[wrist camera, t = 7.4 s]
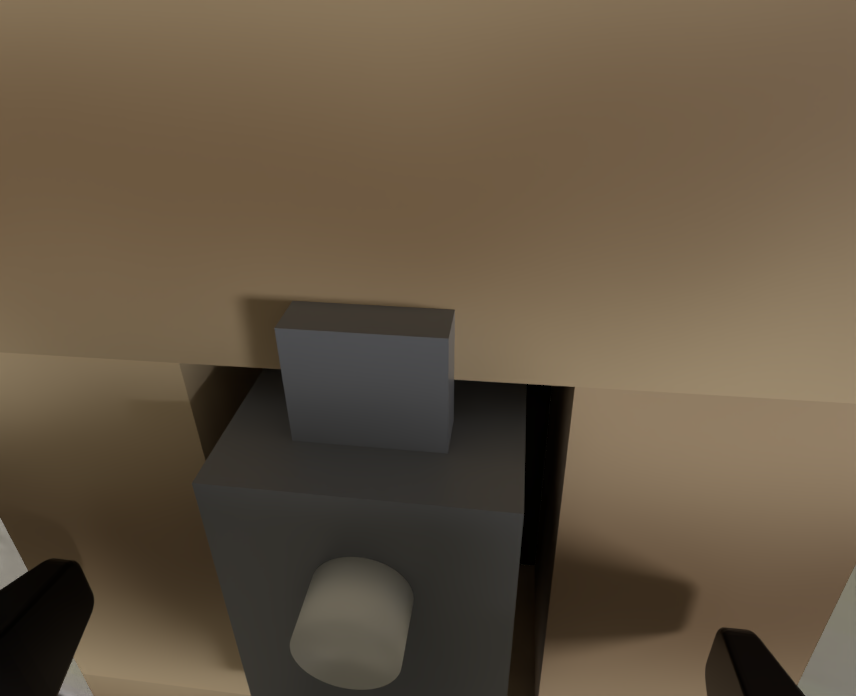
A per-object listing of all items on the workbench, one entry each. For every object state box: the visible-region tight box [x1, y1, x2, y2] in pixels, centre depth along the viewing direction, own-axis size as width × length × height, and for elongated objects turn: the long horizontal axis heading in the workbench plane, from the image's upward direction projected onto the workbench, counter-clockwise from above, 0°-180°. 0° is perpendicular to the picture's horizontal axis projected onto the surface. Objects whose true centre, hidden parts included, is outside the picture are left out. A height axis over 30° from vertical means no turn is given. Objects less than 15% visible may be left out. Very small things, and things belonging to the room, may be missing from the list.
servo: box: [192, 301, 526, 696], centre depth 10 cm, size 9×4×6 cm, turn 1°
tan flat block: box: [0, 0, 856, 696], centre depth 11 cm, size 16×12×4 cm
